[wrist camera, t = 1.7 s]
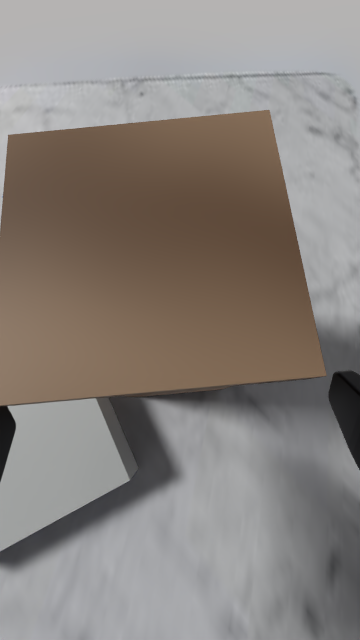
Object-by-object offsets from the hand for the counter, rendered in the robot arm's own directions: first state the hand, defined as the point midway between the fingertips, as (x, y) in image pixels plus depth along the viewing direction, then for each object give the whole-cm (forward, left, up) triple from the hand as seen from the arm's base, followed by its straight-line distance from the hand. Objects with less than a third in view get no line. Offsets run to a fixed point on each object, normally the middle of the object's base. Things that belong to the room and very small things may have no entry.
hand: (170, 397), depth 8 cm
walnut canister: (+3, -1, -10) cm, 11 cm away
